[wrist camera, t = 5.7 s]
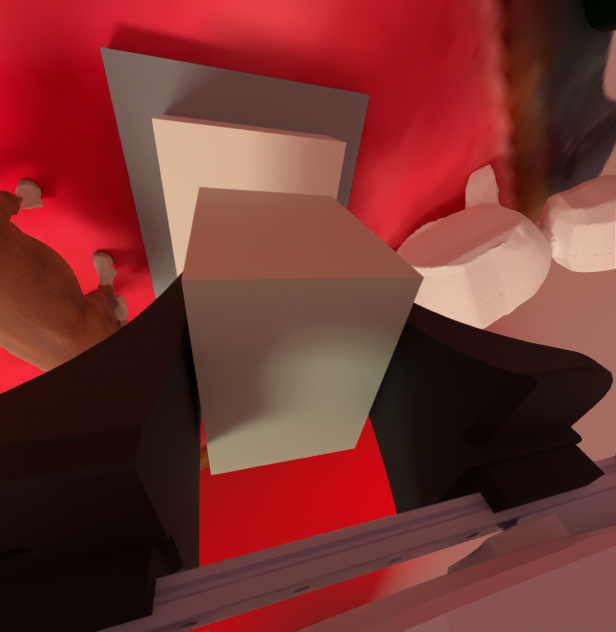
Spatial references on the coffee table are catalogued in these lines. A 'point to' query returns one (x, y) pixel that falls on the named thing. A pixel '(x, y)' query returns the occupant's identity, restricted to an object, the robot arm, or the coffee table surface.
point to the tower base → (217, 100)
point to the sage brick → (288, 323)
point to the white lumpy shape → (509, 248)
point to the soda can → (600, 14)
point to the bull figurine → (49, 294)
